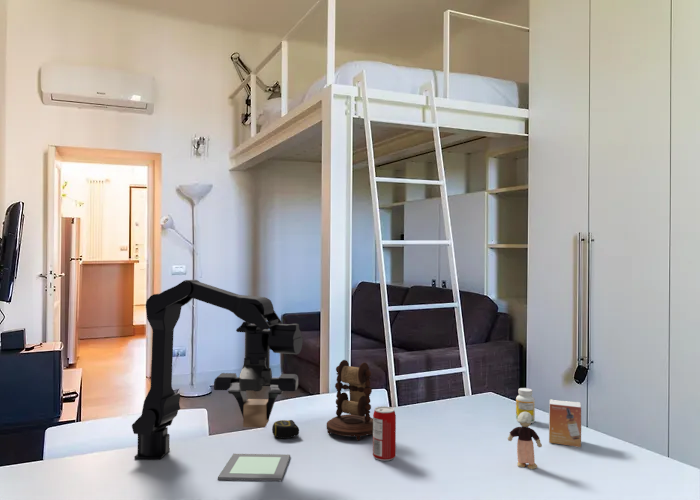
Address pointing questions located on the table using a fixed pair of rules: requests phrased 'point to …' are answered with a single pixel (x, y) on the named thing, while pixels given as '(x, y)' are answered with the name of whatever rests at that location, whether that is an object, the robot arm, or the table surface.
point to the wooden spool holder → (352, 402)
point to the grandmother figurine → (525, 441)
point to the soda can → (384, 433)
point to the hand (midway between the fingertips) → (256, 419)
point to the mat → (255, 467)
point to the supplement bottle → (525, 403)
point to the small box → (565, 423)
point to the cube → (255, 413)
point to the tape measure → (285, 429)
